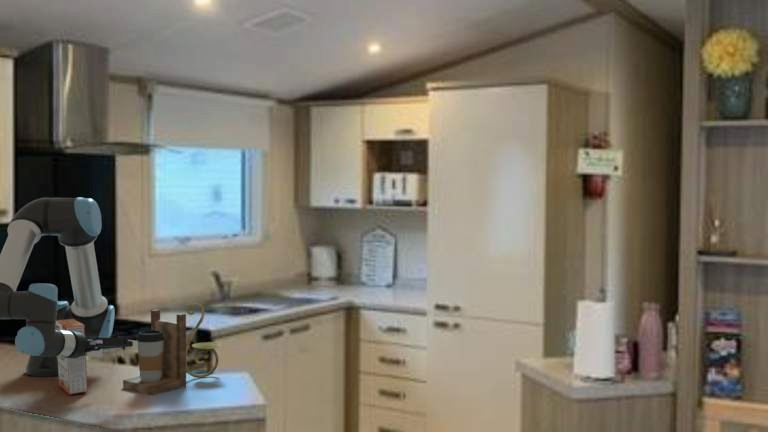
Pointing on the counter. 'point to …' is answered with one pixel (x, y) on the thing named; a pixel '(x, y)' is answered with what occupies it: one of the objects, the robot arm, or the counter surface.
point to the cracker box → (72, 363)
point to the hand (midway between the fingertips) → (119, 349)
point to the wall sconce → (201, 345)
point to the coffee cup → (150, 355)
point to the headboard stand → (166, 357)
